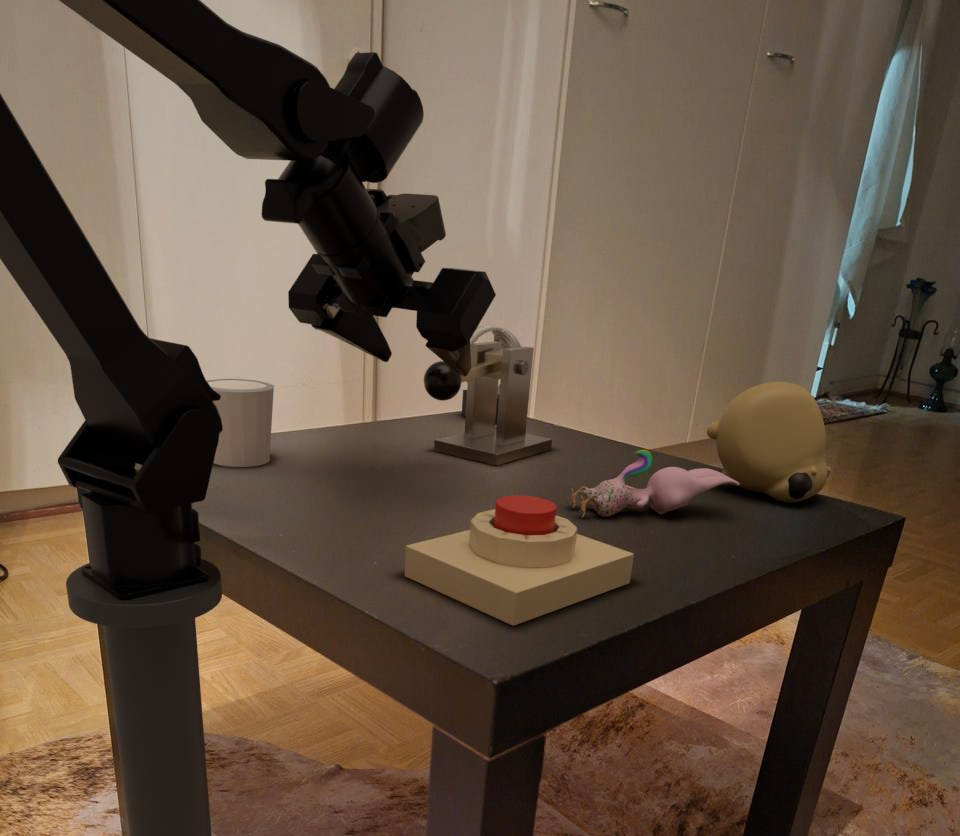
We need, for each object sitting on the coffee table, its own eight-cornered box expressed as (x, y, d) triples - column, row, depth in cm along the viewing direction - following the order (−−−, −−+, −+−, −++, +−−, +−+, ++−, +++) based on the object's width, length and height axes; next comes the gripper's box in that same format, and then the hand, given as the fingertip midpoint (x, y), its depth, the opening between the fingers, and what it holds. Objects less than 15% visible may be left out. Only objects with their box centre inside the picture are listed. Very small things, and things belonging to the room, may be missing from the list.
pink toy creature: (589, 539, 72) (752, 510, 75) (587, 470, 70) (756, 442, 72) (564, 517, 78) (717, 490, 80) (561, 451, 75) (720, 426, 78)
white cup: (186, 461, 81) (180, 383, 78) (231, 447, 87) (228, 375, 84) (248, 472, 79) (244, 393, 76) (290, 457, 84) (289, 384, 81)
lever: (446, 406, 81) (446, 367, 80) (416, 400, 83) (415, 362, 81) (521, 381, 91) (523, 346, 89) (493, 376, 93) (494, 341, 91)
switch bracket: (496, 465, 88) (505, 354, 83) (433, 450, 91) (438, 343, 87) (551, 449, 96) (562, 347, 91) (491, 436, 100) (499, 338, 95)
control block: (513, 626, 52) (519, 564, 50) (404, 576, 58) (406, 519, 57) (630, 583, 60) (638, 528, 58) (523, 543, 66) (528, 492, 65)
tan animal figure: (736, 536, 84) (834, 483, 76) (677, 428, 84) (768, 364, 77) (778, 514, 91) (872, 464, 83) (723, 414, 91) (812, 355, 83)
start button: (526, 543, 55) (528, 516, 54) (481, 526, 58) (483, 500, 57) (566, 532, 58) (569, 506, 57) (521, 516, 60) (524, 491, 59)
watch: (526, 422, 109) (534, 330, 104) (469, 424, 105) (475, 328, 100) (503, 413, 113) (511, 324, 108) (448, 415, 109) (454, 322, 105)
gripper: (491, 154, 64) (551, 308, 77) (309, 149, 73) (390, 288, 86) (421, 269, 62) (495, 408, 75) (241, 249, 71) (335, 376, 84)
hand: (426, 365), depth 80 cm, fingers open, 9 cm apart
